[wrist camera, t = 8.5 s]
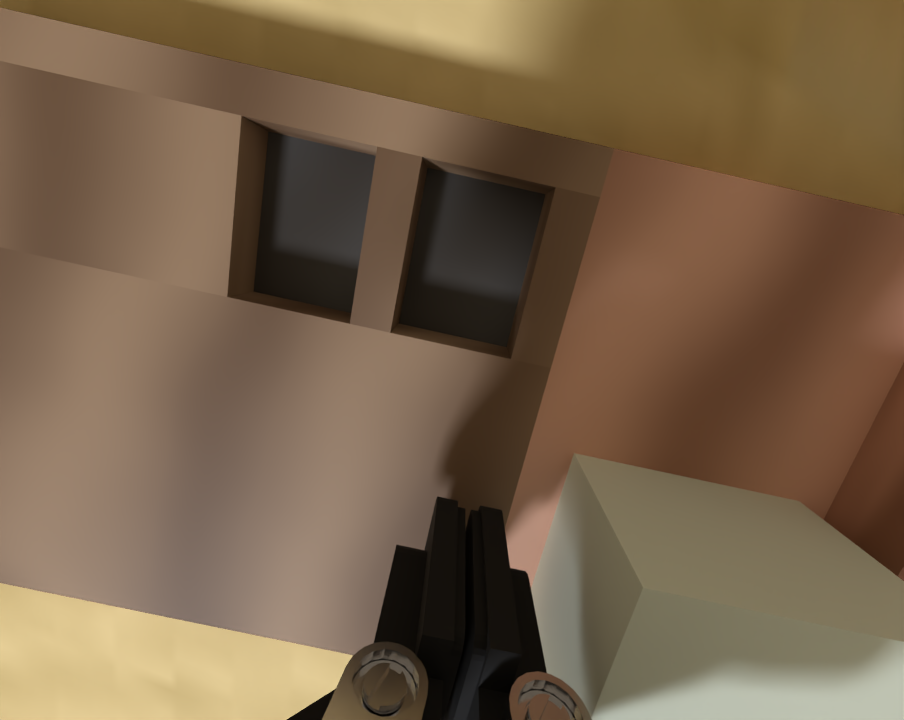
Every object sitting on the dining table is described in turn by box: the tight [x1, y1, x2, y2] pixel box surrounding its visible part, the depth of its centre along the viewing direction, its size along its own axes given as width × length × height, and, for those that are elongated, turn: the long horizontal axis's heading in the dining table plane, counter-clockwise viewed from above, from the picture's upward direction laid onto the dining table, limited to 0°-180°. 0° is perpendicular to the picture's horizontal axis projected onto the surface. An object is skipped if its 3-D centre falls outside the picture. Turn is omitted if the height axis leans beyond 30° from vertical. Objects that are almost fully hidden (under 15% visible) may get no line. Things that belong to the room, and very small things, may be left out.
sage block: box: [531, 453, 904, 720], centre depth 10 cm, size 6×5×4 cm
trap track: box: [0, 8, 904, 655], centre depth 11 cm, size 24×15×4 cm, turn 78°
